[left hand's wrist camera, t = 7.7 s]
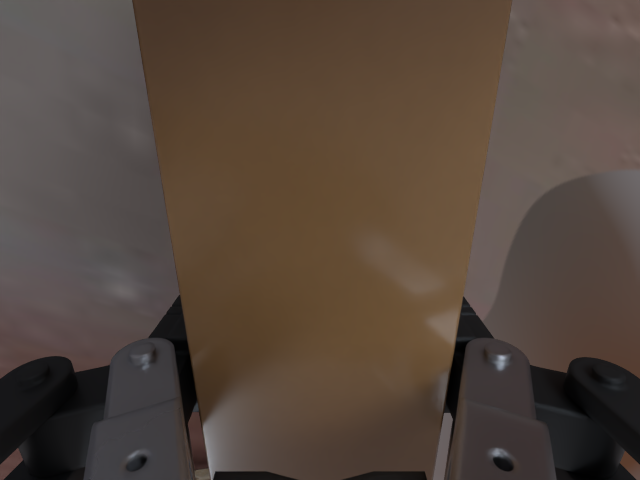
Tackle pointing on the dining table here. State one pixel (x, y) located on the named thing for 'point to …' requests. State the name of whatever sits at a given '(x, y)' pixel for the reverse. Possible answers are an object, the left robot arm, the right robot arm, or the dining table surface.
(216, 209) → the bar
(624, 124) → the dining table surface
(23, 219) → the dining table surface
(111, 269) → the dining table surface
